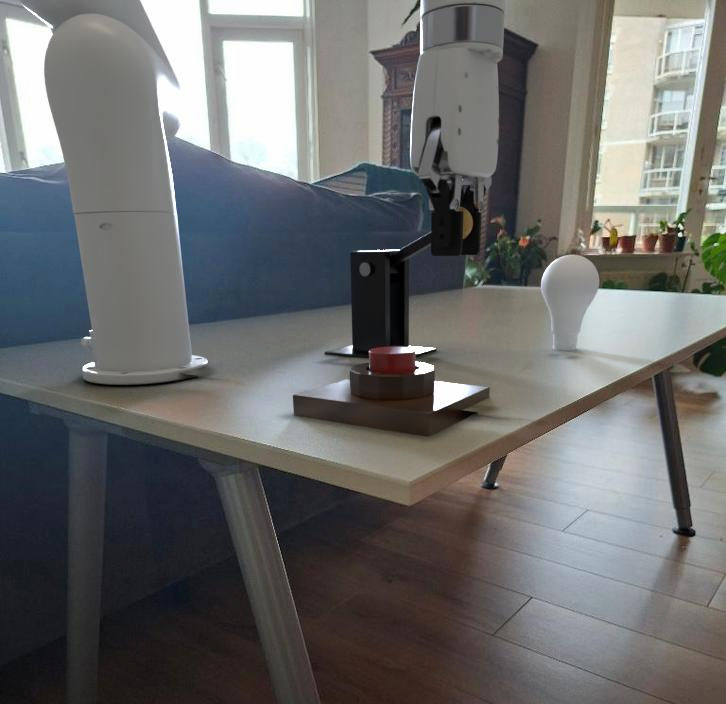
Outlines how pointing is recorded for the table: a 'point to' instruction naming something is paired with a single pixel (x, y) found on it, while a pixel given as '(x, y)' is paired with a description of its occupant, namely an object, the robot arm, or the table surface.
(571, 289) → the lightbulb
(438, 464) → the table surface
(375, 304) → the switch bracket
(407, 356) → the lamp button
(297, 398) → the button base
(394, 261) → the switch lever
